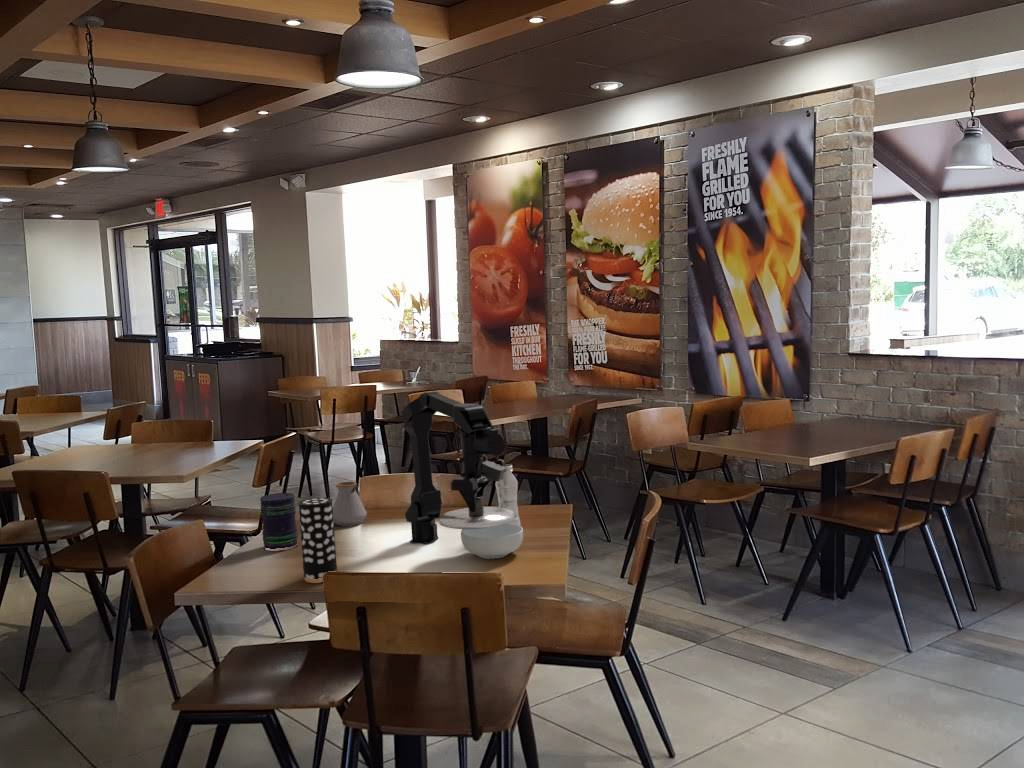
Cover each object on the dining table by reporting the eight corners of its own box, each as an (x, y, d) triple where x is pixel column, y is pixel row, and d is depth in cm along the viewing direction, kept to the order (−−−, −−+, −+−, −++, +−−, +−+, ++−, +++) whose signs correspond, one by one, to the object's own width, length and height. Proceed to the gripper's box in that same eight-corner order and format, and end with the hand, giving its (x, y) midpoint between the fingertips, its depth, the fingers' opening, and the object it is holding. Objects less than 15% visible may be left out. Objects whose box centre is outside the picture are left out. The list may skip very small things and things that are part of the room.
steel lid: (427, 528, 237) (426, 504, 237) (455, 510, 256) (453, 488, 256) (500, 529, 231) (499, 505, 231) (523, 511, 250) (522, 489, 250)
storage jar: (269, 553, 259) (265, 501, 257) (259, 546, 267) (255, 496, 266) (303, 547, 264) (299, 496, 263) (292, 540, 272) (288, 491, 271)
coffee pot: (327, 522, 294) (324, 476, 292) (362, 517, 298) (359, 472, 297) (342, 536, 274) (338, 487, 273) (379, 531, 279) (376, 482, 277)
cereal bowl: (504, 566, 235) (503, 539, 234) (450, 560, 243) (448, 534, 242) (535, 549, 249) (533, 524, 249) (482, 544, 258) (481, 519, 257)
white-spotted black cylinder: (305, 585, 227) (299, 506, 225) (303, 576, 235) (297, 499, 233) (339, 581, 229) (333, 502, 228) (335, 572, 237) (330, 496, 236)
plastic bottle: (518, 535, 265) (515, 467, 263) (495, 535, 266) (492, 467, 265) (522, 529, 271) (519, 463, 269) (500, 529, 273) (497, 463, 271)
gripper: (488, 458, 231) (492, 519, 232) (513, 446, 248) (516, 503, 250) (448, 458, 235) (451, 518, 236) (475, 446, 252) (478, 502, 253)
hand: (476, 510), depth 244 cm, fingers closed on steel lid, 4 cm apart
